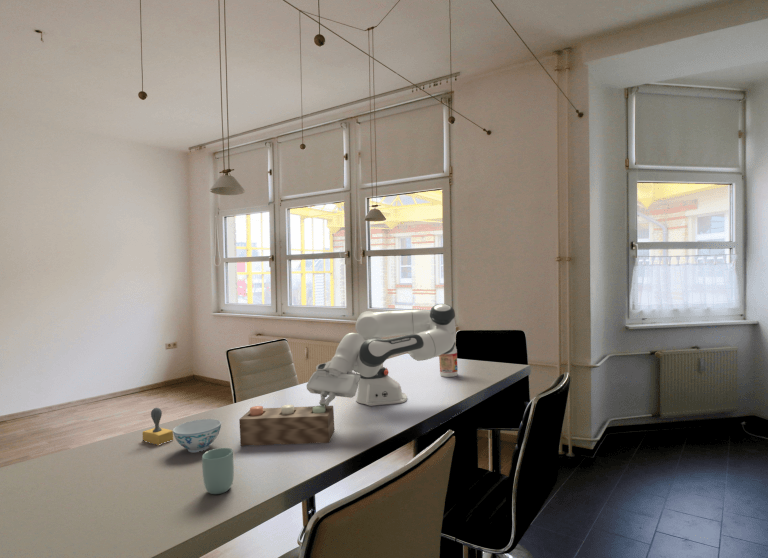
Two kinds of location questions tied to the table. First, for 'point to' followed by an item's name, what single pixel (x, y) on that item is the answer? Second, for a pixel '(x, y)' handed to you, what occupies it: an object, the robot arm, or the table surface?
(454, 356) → the fruit juice
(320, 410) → the sage button
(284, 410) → the cream button
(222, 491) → the cup
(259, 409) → the terracotta button
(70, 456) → the table surface
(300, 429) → the console
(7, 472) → the table surface
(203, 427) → the chinaware
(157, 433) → the rubber stamp
